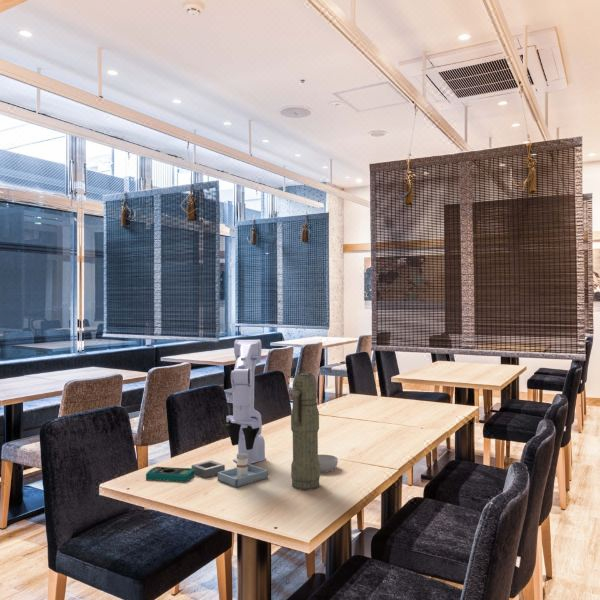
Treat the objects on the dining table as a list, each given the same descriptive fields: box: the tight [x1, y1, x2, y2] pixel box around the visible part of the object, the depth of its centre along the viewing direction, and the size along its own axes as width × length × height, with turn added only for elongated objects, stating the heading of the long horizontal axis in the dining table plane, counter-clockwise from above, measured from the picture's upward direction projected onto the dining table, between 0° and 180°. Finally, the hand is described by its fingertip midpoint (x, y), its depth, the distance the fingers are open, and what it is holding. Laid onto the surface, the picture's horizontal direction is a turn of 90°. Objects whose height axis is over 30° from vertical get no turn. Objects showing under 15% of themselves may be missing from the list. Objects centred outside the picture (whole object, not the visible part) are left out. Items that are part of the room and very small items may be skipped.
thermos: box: [290, 372, 321, 491], centre depth 171 cm, size 9×12×35 cm
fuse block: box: [191, 459, 226, 479], centre depth 185 cm, size 8×8×3 cm
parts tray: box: [216, 464, 269, 489], centre depth 177 cm, size 13×10×2 cm
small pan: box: [318, 454, 339, 473], centre depth 190 cm, size 11×18×4 cm, turn 48°
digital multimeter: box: [145, 466, 195, 483], centre depth 180 cm, size 7×15×3 cm, turn 78°
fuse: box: [236, 453, 248, 479], centre depth 177 cm, size 4×4×8 cm
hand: (242, 447), depth 178 cm, fingers open, 7 cm apart
